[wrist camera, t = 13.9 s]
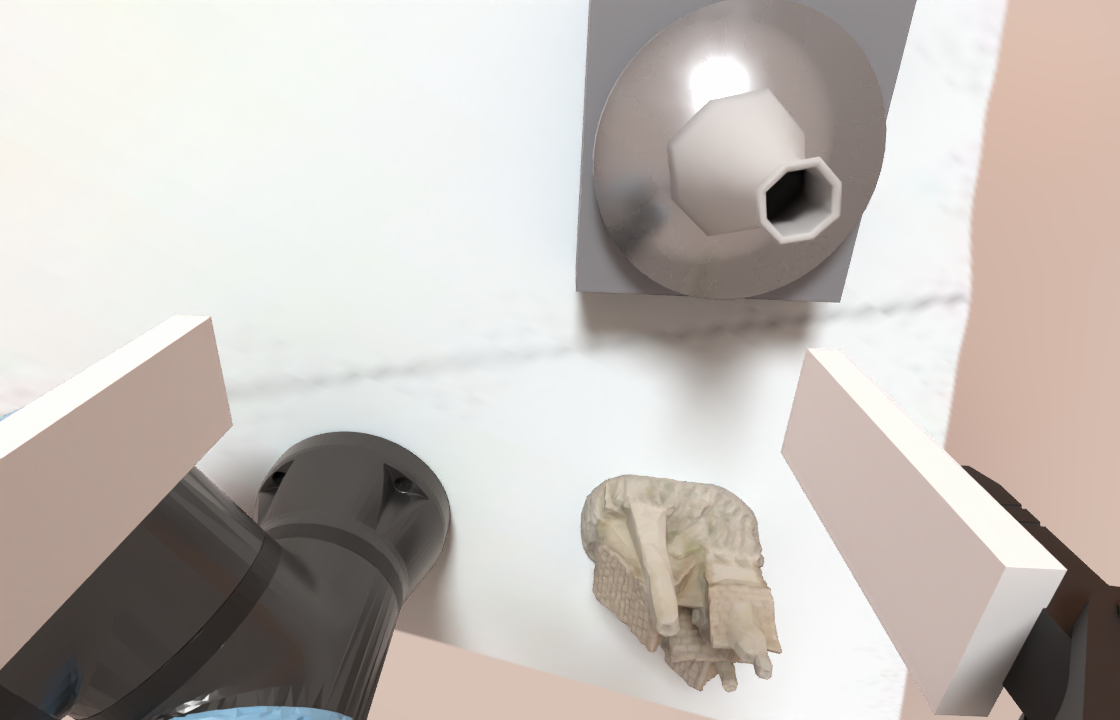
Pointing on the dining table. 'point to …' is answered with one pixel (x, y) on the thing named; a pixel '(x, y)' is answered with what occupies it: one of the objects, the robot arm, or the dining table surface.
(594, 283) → the base
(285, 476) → the robot arm
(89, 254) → the dining table surface
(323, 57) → the dining table surface
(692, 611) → the ceramic cottage
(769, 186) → the flask
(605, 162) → the scale pan
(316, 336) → the dining table surface
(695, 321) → the dining table surface
